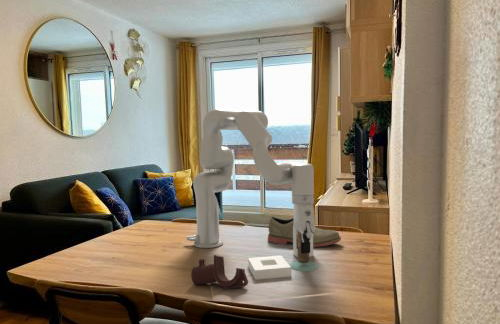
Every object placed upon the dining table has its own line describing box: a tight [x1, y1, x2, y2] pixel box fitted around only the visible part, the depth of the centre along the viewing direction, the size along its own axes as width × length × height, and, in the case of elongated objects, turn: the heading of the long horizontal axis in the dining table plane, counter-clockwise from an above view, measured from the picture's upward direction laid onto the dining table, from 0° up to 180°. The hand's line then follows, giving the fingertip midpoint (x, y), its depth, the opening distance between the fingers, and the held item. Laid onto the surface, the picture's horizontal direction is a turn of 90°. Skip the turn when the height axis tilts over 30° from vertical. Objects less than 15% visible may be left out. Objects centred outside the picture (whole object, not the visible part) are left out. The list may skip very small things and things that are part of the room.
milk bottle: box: [292, 224, 314, 258], centre depth 135 cm, size 8×8×20 cm
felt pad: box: [289, 260, 319, 272], centre depth 124 cm, size 10×10×1 cm
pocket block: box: [247, 255, 292, 280], centre depth 119 cm, size 12×12×4 cm
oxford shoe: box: [267, 216, 342, 248], centre depth 152 cm, size 11×32×12 cm, turn 75°
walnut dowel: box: [297, 230, 310, 263], centre depth 123 cm, size 4×4×11 cm
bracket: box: [190, 254, 249, 289], centre depth 109 cm, size 6×17×10 cm, turn 76°
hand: (303, 250), depth 123 cm, fingers closed on walnut dowel, 4 cm apart
